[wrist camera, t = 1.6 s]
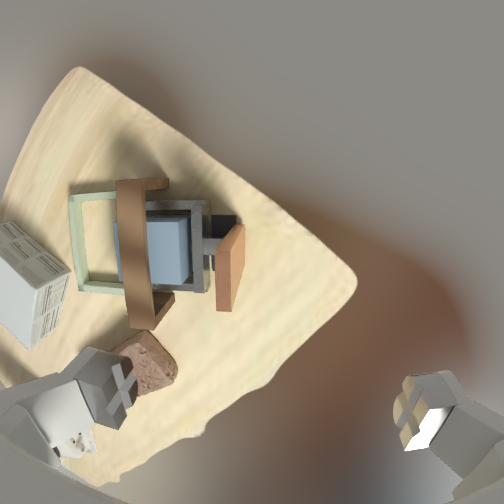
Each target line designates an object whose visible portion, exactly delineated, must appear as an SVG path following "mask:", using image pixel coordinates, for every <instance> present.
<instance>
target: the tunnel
mask: <svg viewBox="0 0 504 504" xmlns="http://www.w3.org/2000/svg"><path fill="white" fill-rule="evenodd" d="M164 188H169V179H131V180H119V181H116V210H117V227H118V240H119V252H120V261H121V270H122V279H123V286H124V293H125V300H126V307H127V313H128V319H129V324H130V328H135V329H143V330H152V331H154V329H155V328H156V327H157V325H158V324H159V322H160V321H161V320H162V318H163V317H164V316H165V314H166V313H167V312H168V310H169V309H170V308H171V306H172V305H173V304H174V302H175V296H174V293H160V292H154V293H153V294H152V287H151V277H150V267H149V255H148V241H147V224H146V198H145V190H154V189H164Z"/></svg>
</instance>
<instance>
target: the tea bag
mask: <svg viewBox="0 0 504 504" xmlns="http://www.w3.org/2000/svg"><path fill="white" fill-rule="evenodd" d="M3 389H7V388H6V387H5V386H4V385H3V383H2V382H1V381H0V390H3Z"/></svg>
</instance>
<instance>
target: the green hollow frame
mask: <svg viewBox="0 0 504 504" xmlns="http://www.w3.org/2000/svg"><path fill="white" fill-rule="evenodd" d="M68 199H69V217H70V229H71V239H72V248H73V256H74V264H75V270H76V277H77V283H78V288H79V291H84V292H94V293H103V294H113V295H124V296H125V293H124V286H123V283H112V282H100V281H90V279H89V272H88V265H87V258H86V249H85V240H84V229H83V216H82V201H94V200H109V199H116V191H109V192H97V193H85V194H75V195H68Z"/></svg>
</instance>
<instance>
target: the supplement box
mask: <svg viewBox="0 0 504 504" xmlns="http://www.w3.org/2000/svg"><path fill="white" fill-rule="evenodd" d="M71 272H72V271H71V270H70V269H69V268H68V267H66V266H65V265H64V264H63V263H61V262H60V261H59V260H58V259H56V258H55V257H54V256H52V255H51V254H50V253H49V252H48V251H46V250H45V249H44V248H43V247H42V246H40V245H39V244H38V243H37V242H36V241H34V240H33V239H32V238H31V237H30V236H29V235H27V234H26V233H25V232H24V231H23V230H22V229H21V228H20V227H18V226H17V225H16V224H15V223H14V222H13V221H9V222H5V223H2V224H0V323H1V324H2V325H3V326H4V327H5V328H6V329H7V330H8V331H9V332H10V333H11V334H12V335H13V336H14V337H15V338H16V339H17V340H18V341H19V342H20V343H21V344H22V345H23V346H24V347H25V348H27V349H28V350H29V351H30V350H31V349H32V348H33V347H34V346H35V345H36V344H37V343H39V342H40V341H41V340H42V339H44V338H45V337H46V336H47V335H49V334H50V333H51V332H52V331H54V330H55V329H56V328H57V327H58V325H59V320H60V316H61V311H62V307H63V302H64V298H65V294H66V290H67V286H68V282H69V279H70V275H71Z"/></svg>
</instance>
